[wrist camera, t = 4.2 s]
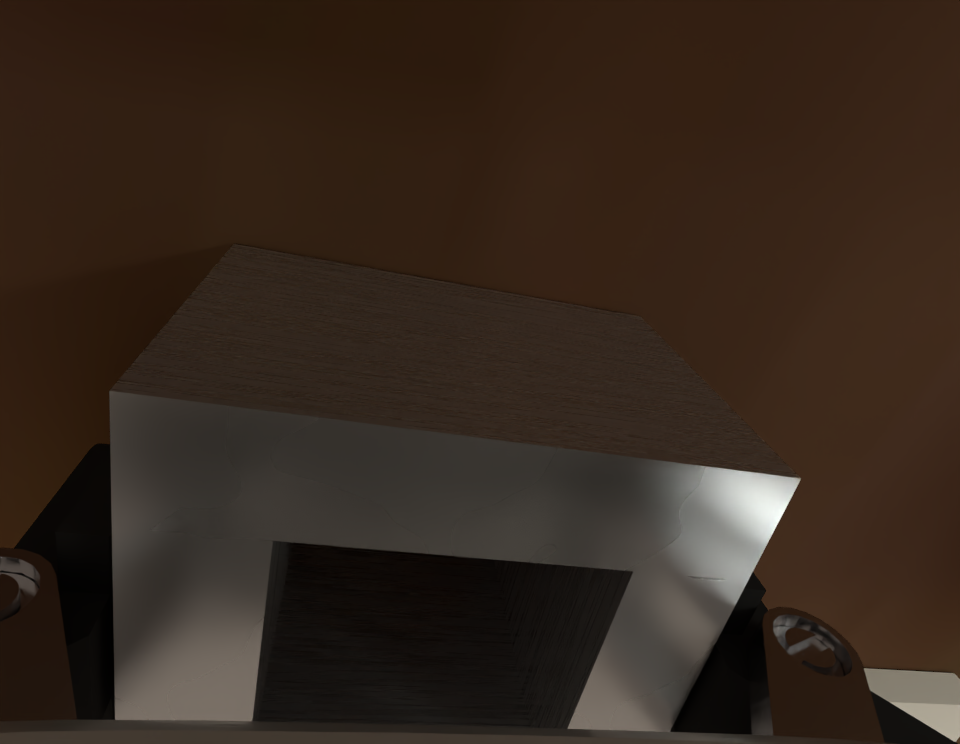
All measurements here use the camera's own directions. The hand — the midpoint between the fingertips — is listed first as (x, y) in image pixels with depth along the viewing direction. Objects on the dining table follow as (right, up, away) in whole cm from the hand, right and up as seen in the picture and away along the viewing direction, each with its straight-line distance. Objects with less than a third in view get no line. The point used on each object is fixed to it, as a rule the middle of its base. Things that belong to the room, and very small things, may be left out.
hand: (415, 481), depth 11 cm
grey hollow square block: (0, 0, +1) cm, 1 cm away
